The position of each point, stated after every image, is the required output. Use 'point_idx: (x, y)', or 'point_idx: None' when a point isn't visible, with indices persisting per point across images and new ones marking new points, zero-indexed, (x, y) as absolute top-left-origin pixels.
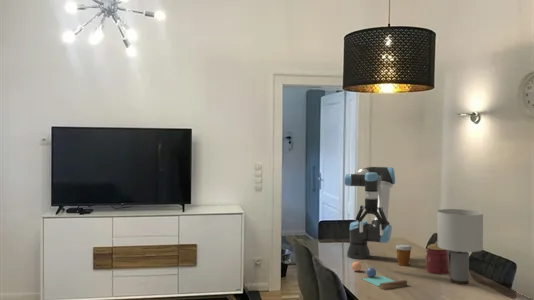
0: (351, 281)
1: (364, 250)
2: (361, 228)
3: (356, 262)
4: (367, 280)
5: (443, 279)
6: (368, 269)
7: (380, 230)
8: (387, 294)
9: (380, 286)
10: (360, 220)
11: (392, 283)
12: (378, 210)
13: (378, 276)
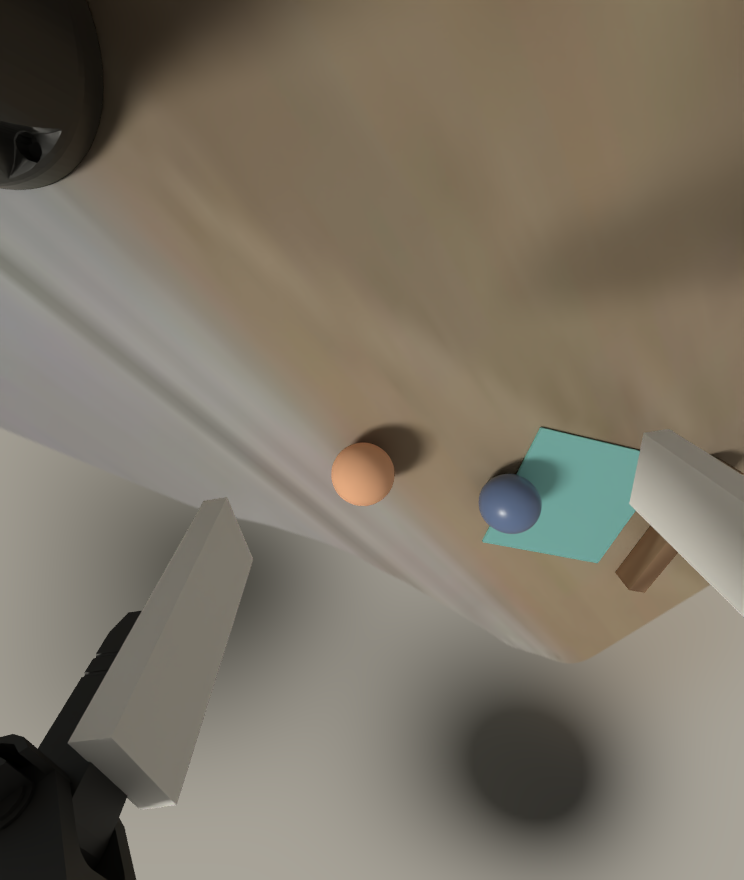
0: (465, 590)
1: (17, 30)
2: (224, 599)
3: (371, 499)
4: (518, 541)
5: None
6: (509, 533)
7: (713, 570)
8: (670, 600)
9: (623, 579)
10: (119, 849)
11: None
12: None
13: (528, 453)
